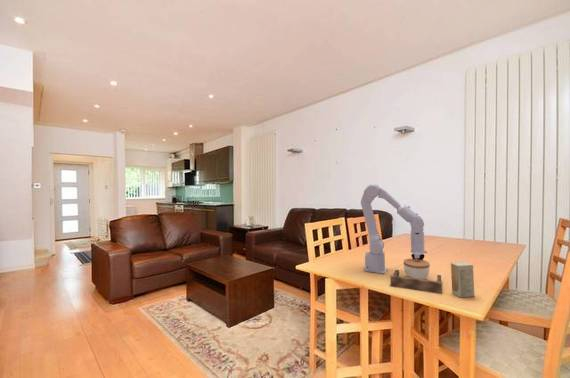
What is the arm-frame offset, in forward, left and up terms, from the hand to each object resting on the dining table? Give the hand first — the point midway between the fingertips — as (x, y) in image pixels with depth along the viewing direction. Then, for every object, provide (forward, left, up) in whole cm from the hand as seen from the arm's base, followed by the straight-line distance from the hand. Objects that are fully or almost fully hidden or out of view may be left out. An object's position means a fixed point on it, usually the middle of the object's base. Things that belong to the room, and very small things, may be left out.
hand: (418, 269), depth 127 cm
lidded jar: (0, -7, -3) cm, 7 cm away
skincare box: (+16, -19, -3) cm, 25 cm away
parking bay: (0, -13, -3) cm, 13 cm away
